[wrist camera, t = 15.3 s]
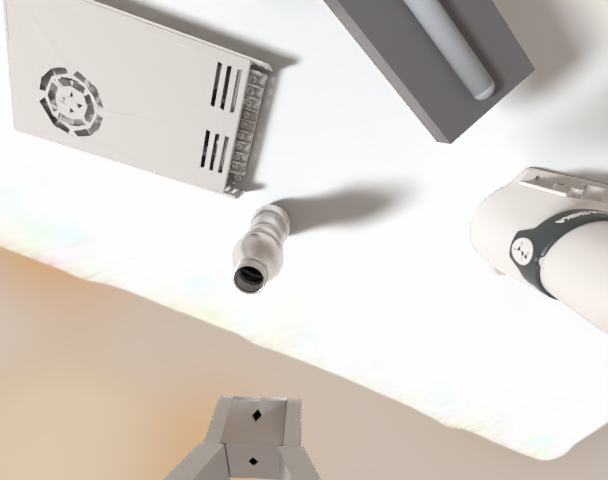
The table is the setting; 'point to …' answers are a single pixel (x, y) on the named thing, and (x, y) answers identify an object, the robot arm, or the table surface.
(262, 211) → the plastic bottle
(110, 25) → the power supply unit
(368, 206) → the table surface
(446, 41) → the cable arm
